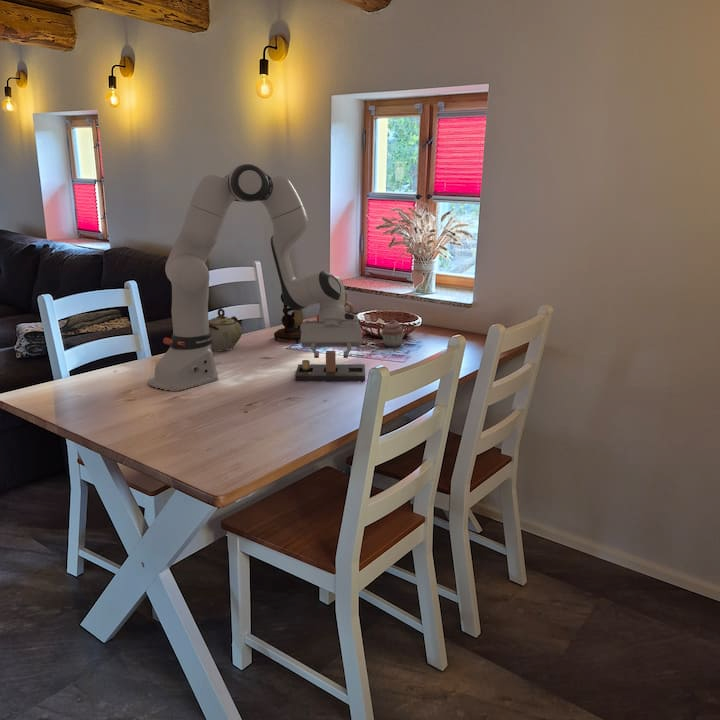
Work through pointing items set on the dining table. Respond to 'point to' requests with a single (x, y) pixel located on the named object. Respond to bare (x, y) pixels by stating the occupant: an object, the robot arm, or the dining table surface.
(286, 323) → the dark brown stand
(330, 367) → the terracotta peg
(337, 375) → the grey peg board
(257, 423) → the dining table surface
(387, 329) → the cupcake
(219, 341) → the olive green rounded pot
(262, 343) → the dining table surface
